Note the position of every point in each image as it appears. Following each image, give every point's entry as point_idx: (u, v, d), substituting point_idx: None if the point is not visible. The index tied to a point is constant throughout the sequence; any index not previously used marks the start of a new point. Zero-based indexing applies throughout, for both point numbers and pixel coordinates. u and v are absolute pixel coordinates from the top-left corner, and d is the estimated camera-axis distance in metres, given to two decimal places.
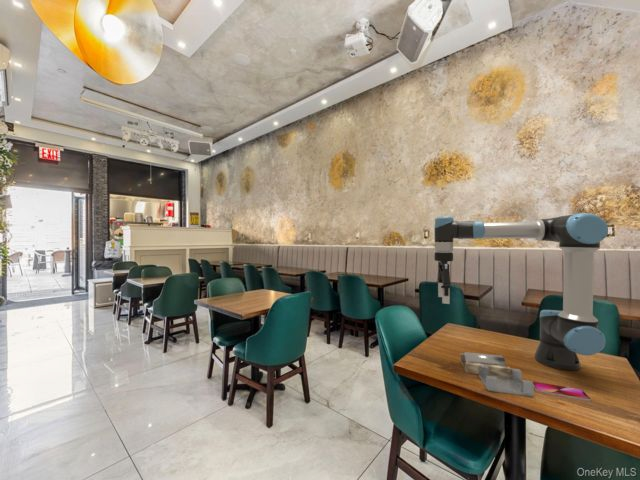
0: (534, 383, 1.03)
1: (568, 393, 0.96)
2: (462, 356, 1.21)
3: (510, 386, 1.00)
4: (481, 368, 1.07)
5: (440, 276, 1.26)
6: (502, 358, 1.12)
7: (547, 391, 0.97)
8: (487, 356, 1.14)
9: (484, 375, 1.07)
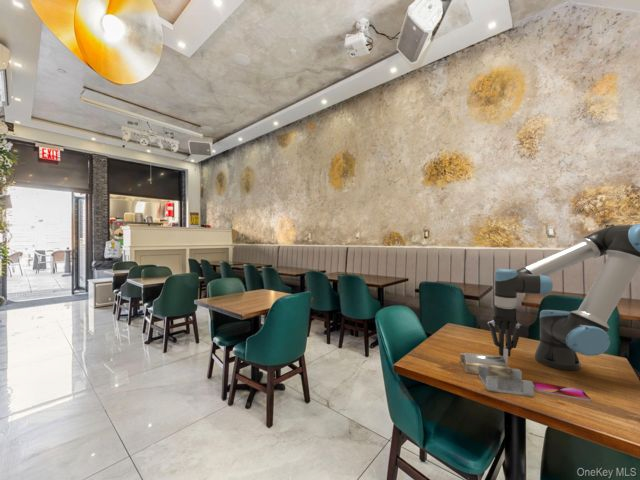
0: (534, 383, 1.03)
1: (568, 393, 0.96)
2: (462, 356, 1.21)
3: (510, 386, 1.00)
4: (481, 368, 1.07)
5: None
6: (503, 360, 1.11)
7: (547, 391, 0.98)
8: (488, 358, 1.13)
9: (484, 375, 1.07)
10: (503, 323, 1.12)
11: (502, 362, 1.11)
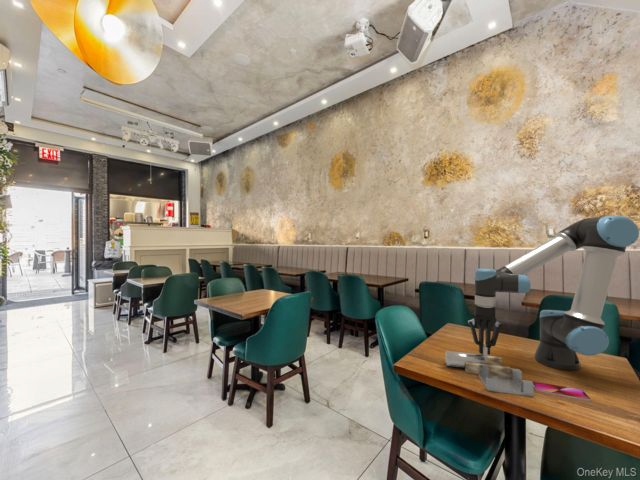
0: (534, 383, 1.03)
1: (568, 393, 0.96)
2: None
3: (510, 386, 1.00)
4: (481, 368, 1.07)
5: None
6: (482, 358, 1.13)
7: (547, 391, 0.98)
8: (468, 356, 1.15)
9: (484, 375, 1.07)
10: (482, 322, 1.14)
11: (481, 360, 1.13)
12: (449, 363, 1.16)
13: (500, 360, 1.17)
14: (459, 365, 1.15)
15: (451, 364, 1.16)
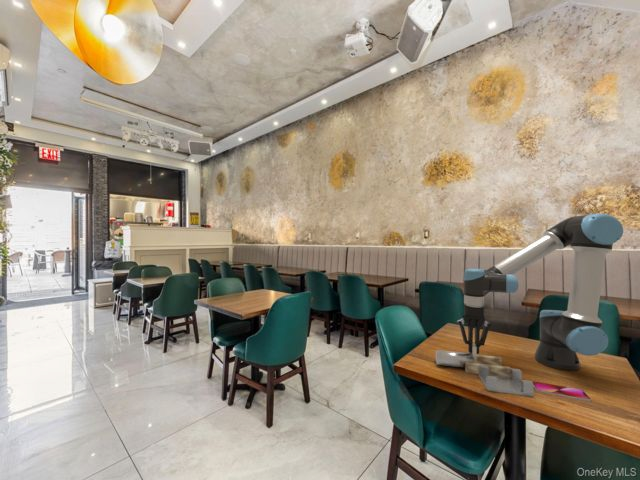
0: (534, 383, 1.03)
1: (568, 393, 0.96)
2: None
3: (510, 386, 1.00)
4: (481, 368, 1.07)
5: (475, 334, 1.17)
6: (471, 357, 1.14)
7: (547, 391, 0.98)
8: (457, 355, 1.16)
9: (484, 375, 1.07)
10: (471, 321, 1.15)
11: (470, 358, 1.14)
12: (439, 362, 1.17)
13: (500, 360, 1.17)
14: (448, 364, 1.16)
15: (441, 363, 1.17)
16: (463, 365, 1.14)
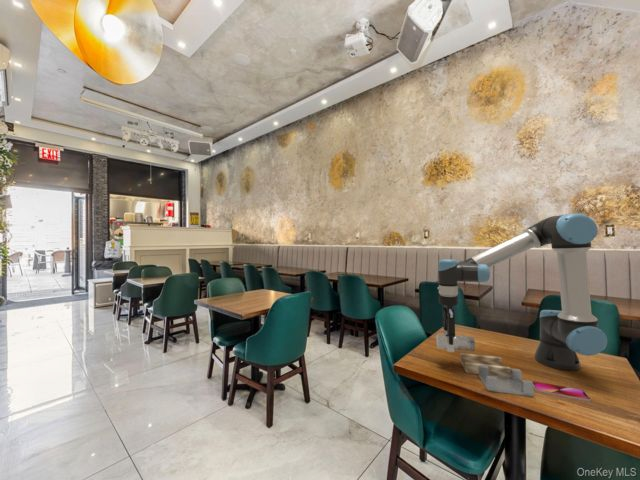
0: (534, 383, 1.03)
1: (568, 393, 0.96)
2: (462, 356, 1.21)
3: (510, 386, 1.00)
4: (481, 368, 1.07)
5: (445, 321, 1.22)
6: (471, 338, 1.16)
7: (547, 391, 0.98)
8: (457, 336, 1.17)
9: (484, 375, 1.07)
10: (453, 311, 1.17)
11: (471, 339, 1.15)
12: (440, 343, 1.17)
13: (500, 360, 1.17)
14: None
15: (442, 345, 1.17)
16: (464, 346, 1.15)
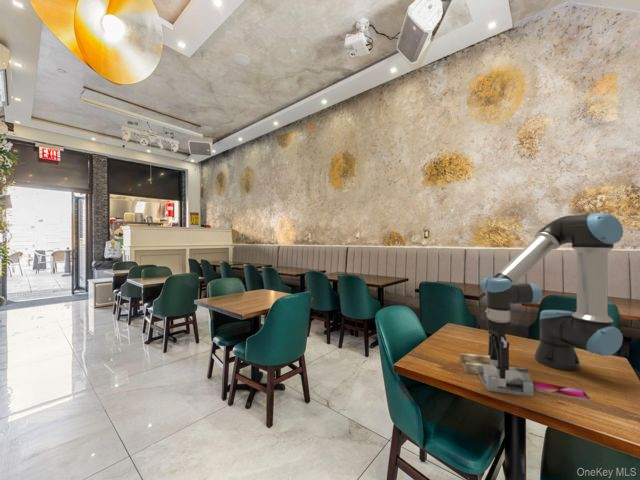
0: (534, 383, 1.03)
1: (568, 393, 0.96)
2: (462, 356, 1.21)
3: (510, 386, 1.00)
4: (481, 368, 1.07)
5: (493, 350, 1.05)
6: (526, 371, 0.99)
7: (547, 391, 0.98)
8: (509, 368, 1.01)
9: None
10: None
11: (525, 372, 0.99)
12: None
13: None
14: None
15: None
16: (518, 380, 0.98)
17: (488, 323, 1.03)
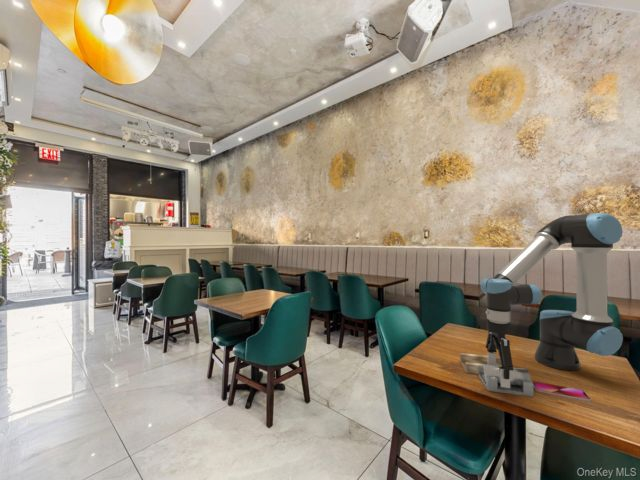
0: (534, 383, 1.03)
1: (568, 393, 0.96)
2: (462, 356, 1.21)
3: (510, 386, 1.00)
4: (481, 368, 1.07)
5: (491, 346, 1.07)
6: (527, 372, 0.99)
7: (547, 391, 0.98)
8: None
9: None
10: None
11: (526, 373, 0.98)
12: None
13: None
14: (500, 380, 1.00)
15: None
16: (518, 382, 0.98)
17: (488, 324, 1.03)
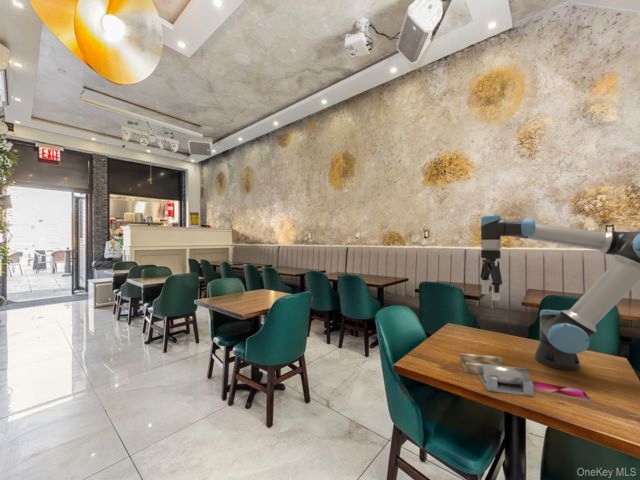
0: (534, 383, 1.03)
1: (568, 393, 0.96)
2: (462, 356, 1.21)
3: (510, 386, 1.00)
4: None
5: (485, 273, 1.27)
6: (525, 370, 1.00)
7: (547, 391, 0.98)
8: (508, 368, 1.01)
9: None
10: None
11: (525, 372, 0.99)
12: (488, 375, 1.01)
13: (500, 360, 1.17)
14: (500, 378, 1.00)
15: None
16: (517, 380, 0.98)
17: (482, 252, 1.23)
